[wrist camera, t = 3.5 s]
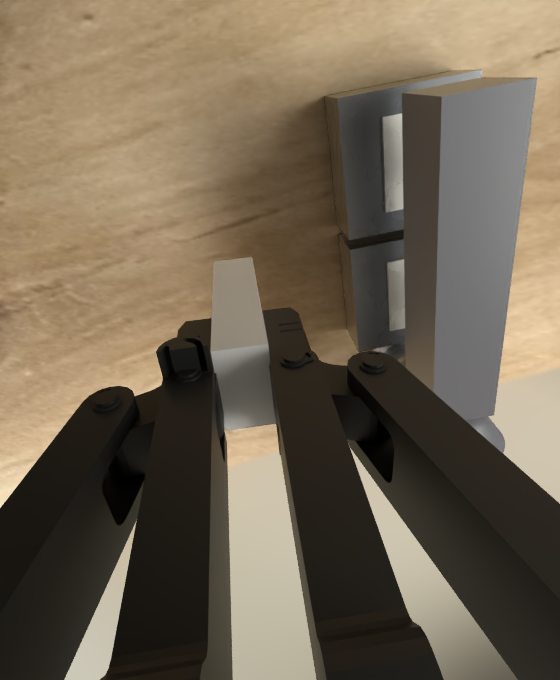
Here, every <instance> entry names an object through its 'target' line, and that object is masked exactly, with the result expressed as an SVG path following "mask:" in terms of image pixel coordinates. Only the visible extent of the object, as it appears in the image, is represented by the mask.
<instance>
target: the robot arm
mask: <svg viewBox="0 0 560 680" xmlns="http://www.w3.org/2000/svg"><path fill="white" fill-rule="evenodd" d="M156 353H157V357H158V361H159V365H160V368H161V372H162V376H163V381H162V385H161V386H159V387H158V388H156V389H154V390H151V391H149V392H146V393H143V394H140V395H137V396H134V394H133V391H132V390H130V389H129V388H127V387H121V386H115V387H108V388H105V389H101V390H99V391H97V392H95V393H93V394H92V395H90V396H89V397H88V398H87V399H86V400H84V401H83V402H82V404H81V405H80V406H79V408H78V409H77V410H76V411H75V413H74V414H73V415H72V417H71V418H70V419H69V421H68V422H67V423H66V424H65V426H64V427H63V428H62V430H61V431H60V432H59V433H58V435H57V436H56V437H55V439H54V440H53V441H52V442H51V444H50V445H49V446H48V448H47V449H46V450H45V451H44V453H43V454H42V455H41V457H40V458H39V459H38V460H37V462H36V463H35V464H34V466H33V467H32V468H31V470H30V471H29V472H28V473H27V475H26V476H25V477H24V479H23V480H22V481H21V482H20V484H19V485H18V486H17V488H16V489H15V490H14V491H13V493H12V494H11V495H10V497H9V498H8V499H7V500H6V502H5V503H4V504H3V506H2V507H1V508H0V680H64V679H65V677H66V674H67V672H68V670H69V668H70V666H71V663H72V661H73V659H74V657H75V655H76V652H77V650H78V648H79V646H80V643H81V641H82V639H83V637H84V634H85V632H86V630H87V628H88V626H89V624H90V621H91V619H92V617H93V615H94V612H95V610H96V608H97V606H98V604H99V602H100V599H101V597H102V595H103V593H104V591H105V588H106V586H107V584H108V582H109V580H110V577H111V575H112V573H113V570H114V568H115V566H116V564H117V562H118V560H119V557H120V555H121V553H122V551H123V549H124V546H125V544H126V542H127V540H128V538H129V535H130V533H131V531H132V529H133V526H134V524H135V522H136V520H137V523H136V528H135V533H134V538H133V544H132V549H131V555H130V560H129V565H128V571H127V577H126V582H125V587H124V592H123V598H122V603H121V609H120V614H119V620H118V625H117V631H116V636H115V641H114V647H113V652H112V657H111V661H110V665H109V669H108V671H107V673H106V675H105V676H104V677H103V678H101V679H100V680H232V638H231V597H230V557H229V556H230V555H229V517H228V516H229V514H228V473H227V442H226V437H225V432H224V424H225V430H226V431H227V430H234V429H241V428H248V427H255V426H262V425H269V424H276V425H277V434H278V443H279V452H280V455H281V460H282V466H283V472H284V479H285V485H286V491H287V496H288V503H289V509H290V516H291V522H292V529H293V535H294V541H295V547H296V554H297V560H298V566H299V572H300V578H301V585H302V591H303V597H304V603H305V609H306V616H307V622H308V628H309V635H310V641H311V647H312V653H313V660H314V666H315V672H316V679H317V680H444V679H443V677H442V674H441V671H440V669H439V666H438V663H437V661H436V658H435V655H434V653H433V651H432V648H431V646H430V643H429V641H428V639H427V636H426V635H425V633H424V632H423V630H422V629H421V627H420V626H419V625H417V624H416V623H414V622H413V621H412V620H411V618H410V616H409V614H408V612H407V609H406V607H405V604H404V601H403V598H402V595H401V592H400V589H399V587H398V584H397V581H396V578H395V575H394V572H393V569H392V567H391V564H390V561H389V558H388V555H387V552H386V550H385V547H384V544H383V541H382V538H381V535H380V532H379V530H378V527H377V524H376V521H375V518H374V516H373V513H372V510H371V507H370V504H369V501H368V498H367V495H366V493H365V490H364V487H363V484H362V481H361V478H360V476H359V473H358V470H357V467H356V464H355V461H354V459H353V456H352V453H351V450H350V448H351V449H352V450H353V452H354V453H355V455H356V456H357V457H358V459H359V460H360V461H361V463H362V464H363V466H364V467H365V468H366V470H367V471H368V473H369V474H370V475H371V477H372V478H373V479H374V481H375V482H376V484H377V485H378V486H379V488H380V489H381V491H382V492H383V493H384V495H385V496H386V498H387V499H388V500H389V502H390V503H391V504H392V506H393V507H394V509H395V510H396V511H397V513H398V514H399V516H400V517H401V518H402V520H403V521H404V522H405V524H406V525H407V527H408V528H409V529H410V531H411V532H412V534H413V535H414V536H415V538H416V539H417V540H418V542H419V543H420V544H421V546H422V547H423V549H424V550H425V552H426V553H427V554H428V556H429V557H430V558H431V560H432V561H433V563H434V564H435V565H436V567H437V568H438V569H439V571H440V572H441V574H442V575H443V576H444V578H445V579H446V581H447V582H448V583H449V585H450V586H451V587H452V589H453V590H454V592H455V593H456V594H457V596H458V597H459V599H460V600H461V601H462V603H463V604H464V606H465V607H466V608H467V610H468V611H469V612H470V614H471V615H472V617H473V618H474V619H475V621H476V622H477V623H478V625H479V626H480V628H481V629H482V630H483V632H484V633H485V635H486V636H487V637H488V639H489V640H490V642H491V643H492V644H493V646H494V647H495V648H496V650H497V651H498V653H499V654H500V655H501V657H502V658H503V660H504V661H505V662H506V664H507V665H508V666H509V668H510V669H511V671H512V672H513V673H514V675H515V676H516V678H517V679H518V680H560V504H559V503H558V502H557V501H556V500H555V499H554V498H553V497H551V496H550V495H549V494H548V493H547V492H546V491H545V490H543V489H542V488H541V487H540V486H539V485H538V484H537V483H536V482H534V481H533V480H532V479H531V478H530V477H529V476H528V475H526V474H525V473H524V472H523V471H522V470H521V469H520V468H519V467H517V466H516V465H515V464H514V463H513V462H512V461H511V460H509V459H508V458H507V457H506V456H505V455H504V454H503V453H502V452H500V451H499V450H498V449H497V448H496V447H495V446H494V445H493V444H491V443H490V442H489V441H488V440H487V439H486V438H485V437H483V436H482V435H481V434H480V433H479V432H478V431H477V430H476V429H474V428H473V427H472V426H471V425H470V424H469V423H468V422H466V421H465V420H464V419H463V418H462V417H461V416H460V415H459V414H457V413H456V412H455V411H454V410H453V409H452V408H451V407H450V406H448V405H447V404H446V403H445V402H444V401H443V400H442V399H440V398H439V397H438V396H437V395H436V394H435V393H434V392H433V391H431V390H430V389H429V388H428V387H427V386H426V385H425V384H423V383H422V382H421V381H420V380H419V379H418V378H417V377H416V376H414V375H413V374H412V373H411V372H410V371H409V370H408V369H406V368H405V367H404V366H403V365H402V364H401V363H400V362H399V361H397V360H396V359H395V358H394V357H392V356H390V355H389V354H386V353H382V352H377V351H367V352H361V353H358V354H356V355H354V356H352V357H351V358H350V359H349V360H348V365H347V366H340V365H331V364H327V363H324V362H321V361H319V359H318V357H317V355H316V354H315V353H314V352H313V351H311V349H310V346H309V343H308V340H307V338H306V335H305V332H304V330H303V326H302V323H301V320H300V317H299V314H298V313H297V312H296V311H294V310H293V309H292V308H290V307H289V308H281V309H273V310H265V311H262V308H261V302H260V297H259V291H258V286H257V281H256V275H255V270H254V265H253V259H252V257H246V258H238V259H229V260H221V261H213V291H212V318H210V319H202V320H194V321H186V322H185V323H184V324H183V325H182V326H181V327H180V329H179V330H178V335H177V337H176V338H173V339H171V340H168V341H166V342H165V343H163V344H162V345H161V346H159V348H158V350H157V351H156ZM349 446H350V447H349Z"/></svg>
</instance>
